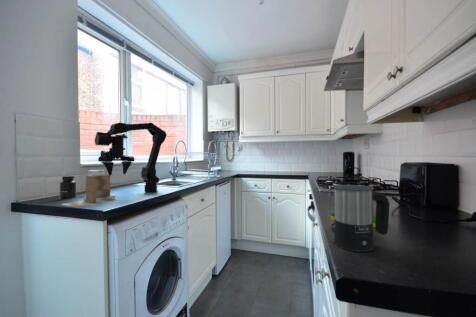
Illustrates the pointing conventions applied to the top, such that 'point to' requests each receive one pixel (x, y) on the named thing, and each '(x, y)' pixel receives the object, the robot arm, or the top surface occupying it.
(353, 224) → the milk frother
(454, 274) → the top surface
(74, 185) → the supplement bottle
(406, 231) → the top surface
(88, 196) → the block
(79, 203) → the chute
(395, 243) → the top surface
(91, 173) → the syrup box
